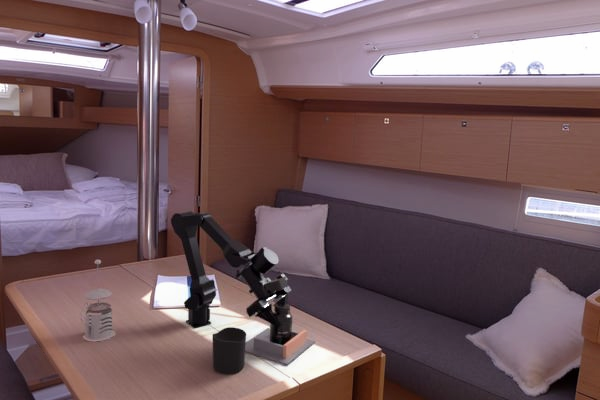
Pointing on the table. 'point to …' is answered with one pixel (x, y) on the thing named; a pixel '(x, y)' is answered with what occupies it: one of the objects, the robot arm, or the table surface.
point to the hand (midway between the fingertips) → (285, 322)
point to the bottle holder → (278, 347)
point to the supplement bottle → (281, 324)
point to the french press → (94, 329)
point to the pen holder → (229, 350)
